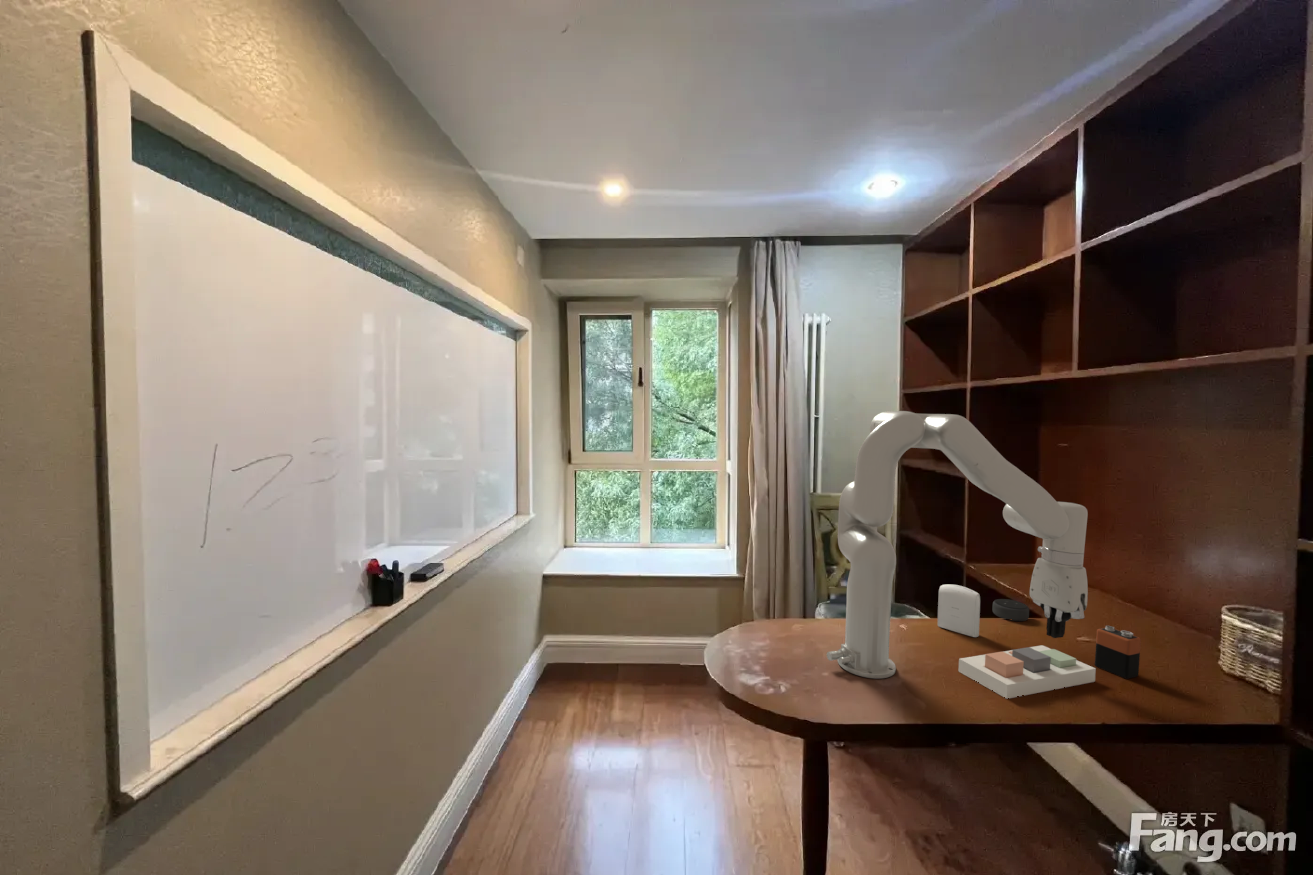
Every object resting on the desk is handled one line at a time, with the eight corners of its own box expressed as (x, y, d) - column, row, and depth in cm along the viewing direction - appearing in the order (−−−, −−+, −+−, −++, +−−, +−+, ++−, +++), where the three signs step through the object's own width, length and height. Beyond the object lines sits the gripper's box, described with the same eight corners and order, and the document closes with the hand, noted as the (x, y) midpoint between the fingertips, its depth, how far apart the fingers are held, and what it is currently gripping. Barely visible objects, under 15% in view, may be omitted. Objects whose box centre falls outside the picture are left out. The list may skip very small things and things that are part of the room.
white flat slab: (1006, 698, 111) (1007, 683, 111) (958, 671, 122) (959, 657, 122) (1094, 681, 119) (1095, 667, 118) (1041, 657, 130) (1042, 644, 130)
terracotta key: (1005, 679, 114) (1006, 664, 114) (984, 668, 119) (985, 654, 118) (1022, 676, 115) (1023, 661, 115) (1001, 665, 120) (1002, 651, 120)
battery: (1126, 680, 120) (1130, 636, 119) (1093, 666, 126) (1096, 624, 125) (1139, 677, 121) (1142, 634, 120) (1105, 663, 127) (1108, 622, 127)
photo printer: (934, 626, 148) (936, 582, 147) (941, 622, 150) (943, 579, 150) (975, 639, 140) (977, 593, 139) (981, 635, 142) (983, 589, 142)
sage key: (1059, 675, 119) (1060, 661, 118) (1037, 664, 123) (1038, 651, 123) (1075, 672, 120) (1076, 658, 120) (1053, 662, 125) (1053, 648, 125)
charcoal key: (1033, 674, 116) (1033, 659, 116) (1011, 663, 121) (1012, 649, 121) (1049, 671, 118) (1050, 657, 118) (1028, 660, 122) (1028, 647, 122)
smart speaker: (1036, 622, 152) (1037, 609, 152) (1006, 623, 151) (1007, 609, 151) (1013, 610, 161) (1014, 597, 161) (985, 611, 160) (986, 598, 160)
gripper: (1018, 548, 126) (1011, 624, 127) (1085, 567, 112) (1077, 652, 113) (1041, 547, 129) (1035, 621, 130) (1110, 566, 114) (1102, 649, 115)
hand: (1054, 636), depth 121 cm, fingers closed
